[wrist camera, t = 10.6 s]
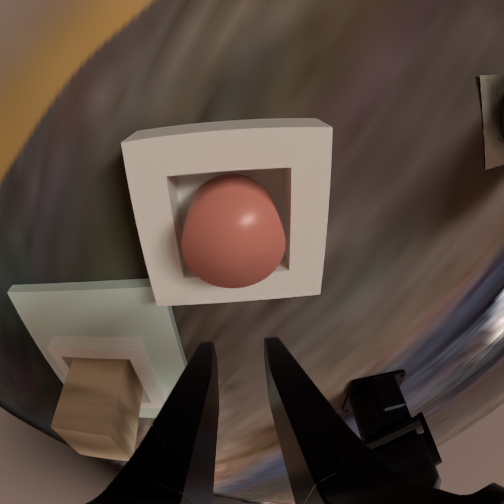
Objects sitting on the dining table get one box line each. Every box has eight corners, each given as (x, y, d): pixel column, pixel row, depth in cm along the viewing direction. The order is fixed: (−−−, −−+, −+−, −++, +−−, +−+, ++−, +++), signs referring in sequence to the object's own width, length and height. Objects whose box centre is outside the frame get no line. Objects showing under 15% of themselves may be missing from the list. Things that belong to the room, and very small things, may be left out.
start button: (275, 249, 19) (284, 284, 16) (194, 255, 19) (189, 291, 16) (274, 171, 16) (286, 194, 13) (183, 177, 16) (173, 203, 13)
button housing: (309, 266, 22) (320, 294, 19) (164, 277, 21) (157, 306, 19) (316, 118, 16) (332, 127, 14) (137, 131, 16) (120, 142, 13)
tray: (202, 410, 31) (201, 430, 29) (87, 405, 30) (82, 423, 28) (164, 277, 21) (158, 300, 19) (12, 285, 21) (-1, 303, 19)
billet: (144, 385, 26) (133, 461, 20) (97, 382, 26) (80, 454, 19) (127, 350, 24) (109, 436, 17) (76, 349, 23) (50, 426, 17)
